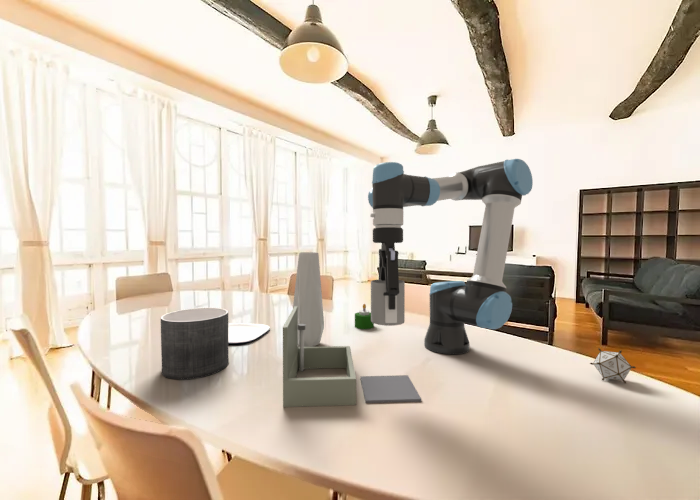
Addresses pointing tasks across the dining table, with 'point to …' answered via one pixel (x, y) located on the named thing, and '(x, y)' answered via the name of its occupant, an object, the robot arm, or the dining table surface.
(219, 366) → the planter
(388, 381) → the mat
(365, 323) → the candle
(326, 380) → the case
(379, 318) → the cup
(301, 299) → the vase
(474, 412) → the dining table surface
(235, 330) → the plate
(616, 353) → the game die
